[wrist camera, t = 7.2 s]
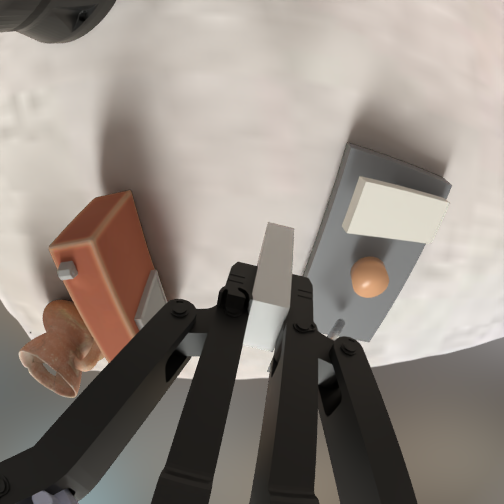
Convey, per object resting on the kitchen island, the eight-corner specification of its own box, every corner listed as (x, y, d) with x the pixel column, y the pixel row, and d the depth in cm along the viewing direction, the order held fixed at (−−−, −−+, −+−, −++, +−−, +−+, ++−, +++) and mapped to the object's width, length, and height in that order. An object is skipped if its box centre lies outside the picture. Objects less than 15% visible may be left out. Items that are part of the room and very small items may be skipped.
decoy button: (358, 252, 31) (361, 263, 30) (391, 261, 31) (395, 272, 29) (345, 282, 33) (347, 293, 32) (376, 289, 33) (379, 300, 32)
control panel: (93, 194, 36) (35, 255, 23) (141, 184, 36) (95, 244, 23) (139, 319, 47) (118, 396, 34) (180, 316, 47) (168, 396, 34)
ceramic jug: (72, 344, 57) (41, 393, 45) (38, 291, 50) (-2, 340, 38) (136, 351, 53) (106, 412, 41) (101, 290, 46) (56, 354, 34)
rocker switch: (359, 176, 25) (365, 181, 24) (443, 197, 27) (449, 203, 26) (341, 226, 27) (346, 233, 26) (424, 237, 30) (430, 244, 29)
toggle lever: (337, 310, 37) (311, 351, 31) (352, 318, 36) (329, 361, 30) (331, 322, 38) (304, 363, 32) (346, 330, 37) (322, 373, 31)
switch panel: (347, 142, 29) (354, 151, 26) (443, 177, 29) (458, 191, 26) (288, 313, 42) (287, 335, 39) (366, 329, 42) (370, 351, 39)
